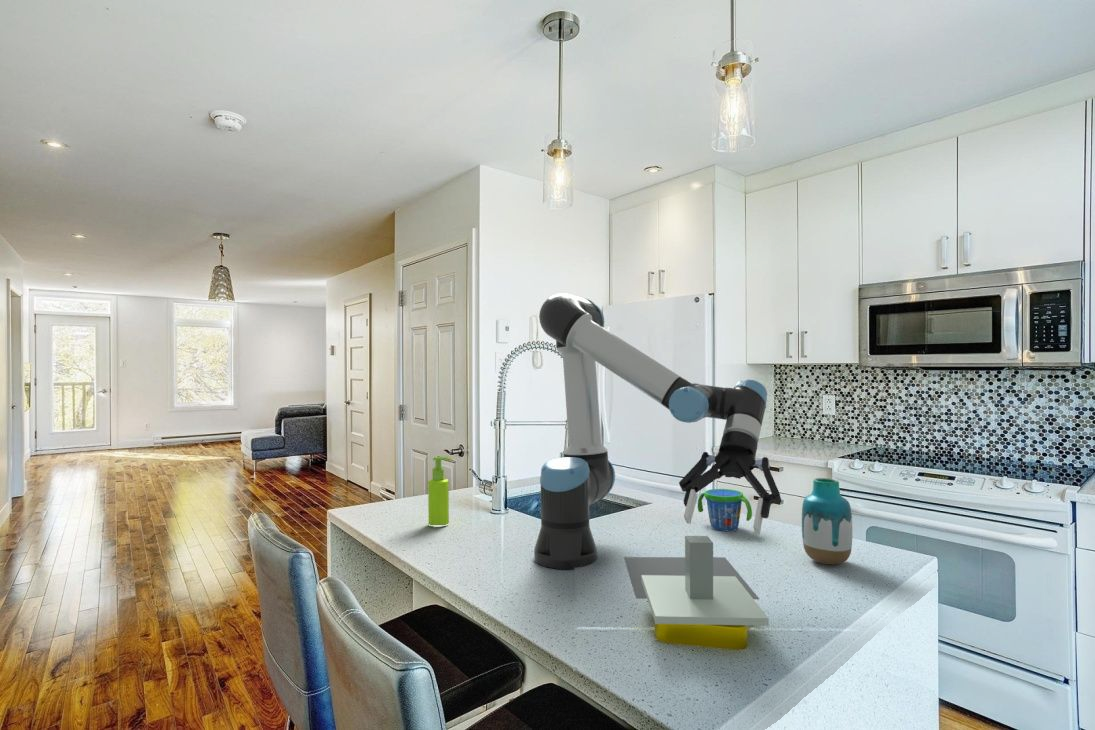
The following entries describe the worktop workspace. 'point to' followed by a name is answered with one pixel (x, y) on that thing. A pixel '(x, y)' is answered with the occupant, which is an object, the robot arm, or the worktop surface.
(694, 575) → the sage lid
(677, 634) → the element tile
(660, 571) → the rubber mat
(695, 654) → the worktop surface
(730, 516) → the snack cup
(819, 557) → the vase
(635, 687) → the worktop surface
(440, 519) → the soap dispenser
